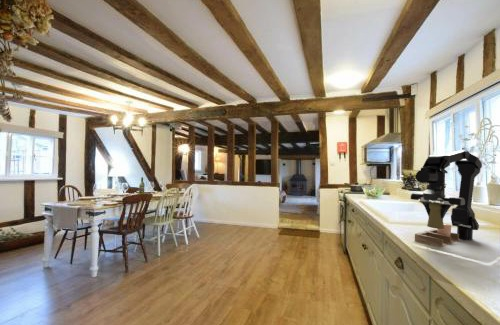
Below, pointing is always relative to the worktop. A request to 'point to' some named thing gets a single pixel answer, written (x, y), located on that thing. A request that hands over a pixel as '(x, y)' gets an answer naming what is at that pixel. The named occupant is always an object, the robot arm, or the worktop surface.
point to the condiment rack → (436, 238)
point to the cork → (435, 216)
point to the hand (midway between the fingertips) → (435, 218)
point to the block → (445, 230)
